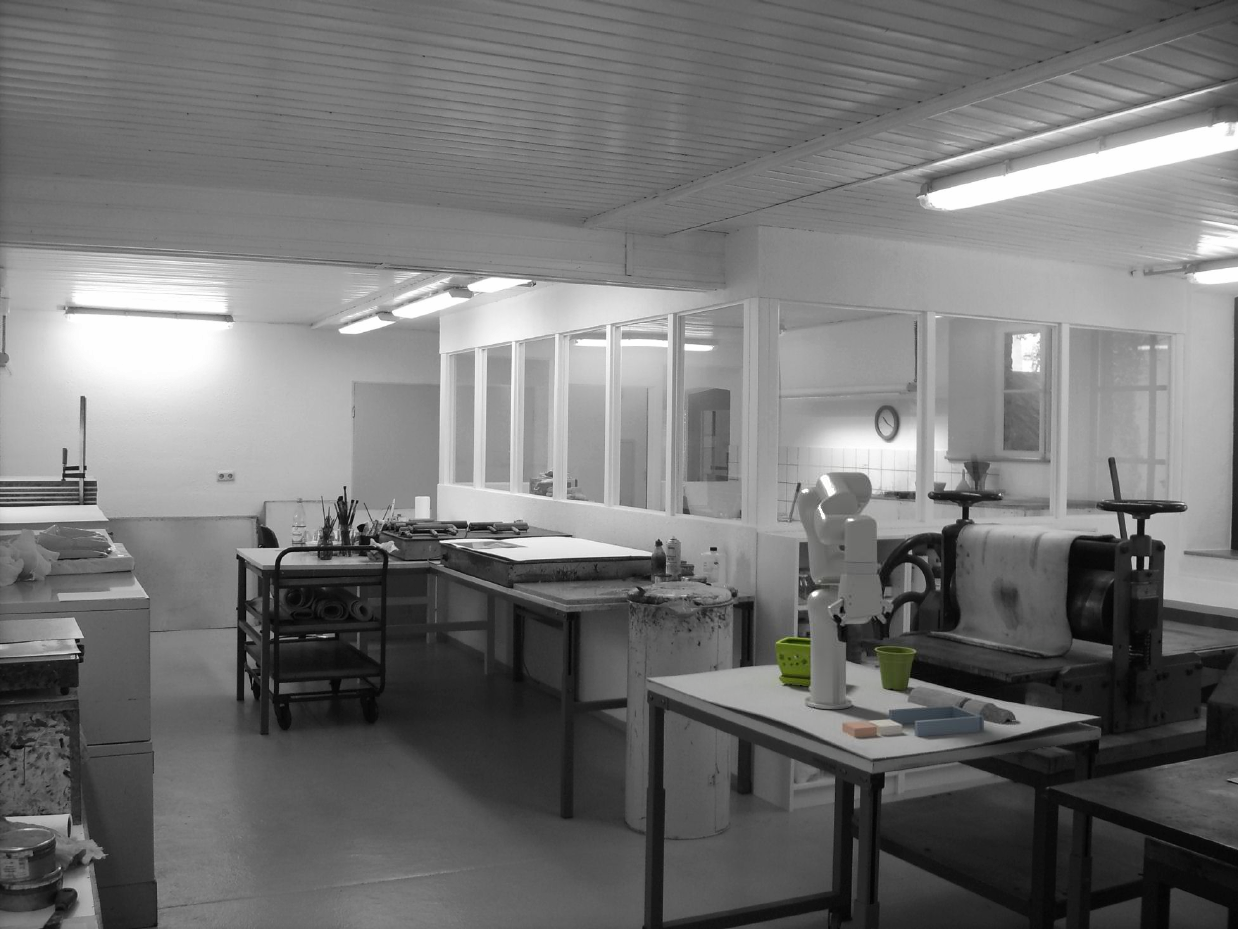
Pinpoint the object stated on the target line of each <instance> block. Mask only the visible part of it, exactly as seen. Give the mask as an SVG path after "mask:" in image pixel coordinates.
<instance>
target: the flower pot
mask: <svg viewBox="0 0 1238 929" xmlns="http://www.w3.org/2000/svg"><path fill="white" fill-rule="evenodd" d="M774 648H775V654H776V660H777V665H778V668H779V671H780V672H781V675H779V676H778V679H779V681H780V682H781V683H782V684H784V683H785V684H784V685H790V684H792V685H791V686H800V685H802V687H810V686H811V638H808V637H807V638H806V637H796V636H794V637H792V636H787V637H785V638H781V639H780V640H778V641H776V642H775V647H774ZM795 656H796V657H795Z"/></svg>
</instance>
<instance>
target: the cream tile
mask: <svg viewBox="0 0 1238 929" xmlns="http://www.w3.org/2000/svg"><path fill="white" fill-rule="evenodd" d="M867 723H869V724H871V725H874V726H876V727H877V735H878V736H891V735H892V736H893V735H902V734H903V724H899V723H897V722H894V721H892V720H890V719H889V718H888V719H875V720H868V721H867Z"/></svg>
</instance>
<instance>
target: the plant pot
mask: <svg viewBox="0 0 1238 929" xmlns="http://www.w3.org/2000/svg"><path fill="white" fill-rule="evenodd" d="M874 651H875V652H876V655H877V659H878V666H879V673H880V679H881V687H882V688H883V689H886V690H891V689H893V690H894V691H904V690H907V689H908V687H909V683H910V682H909V681H910V678H911V677H910V676H911V671H912V665H913V661H914V659H915V655H916V654H917V651H916V649H913V648H911V647H910V648H909V647H903V646H902V647H901V646H879V647H875V648H874Z"/></svg>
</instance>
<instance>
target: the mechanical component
mask: <svg viewBox="0 0 1238 929" xmlns="http://www.w3.org/2000/svg"><path fill="white" fill-rule="evenodd" d="M907 703H912V704H915V705H919V706H923V707H935V706H949V705H954V706H957V707H959V708H962V709H964V710H967V711H970V712H972V713H975V714H978V715H980V716H983V717H984V722H985V721H986V722H989V723H994V724H997V723H998V724H999V725H1001V724H1000V723H1002V724H1005V723H1006V721H1007V720H1009V721H1008V722H1011V721H1012V720H1016V721H1017V718H1016V714H1014V713H1013V711H1011V710H1009V709H1006V708H1003V707H999V706H997V705H995V703H993V702H989V701H984V700H980V699H979V700H978V699H975V698H974V699H973V698H971V697H967V696H964V695H963V696H962V695H958V694H954V693H951V692H945V691H941V690H937V689H933V688H929V687H926V686H921V685H920V686H915V688H913V689H911V692H910V693H909V694H908V698H907ZM1012 722H1013V721H1012Z"/></svg>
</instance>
